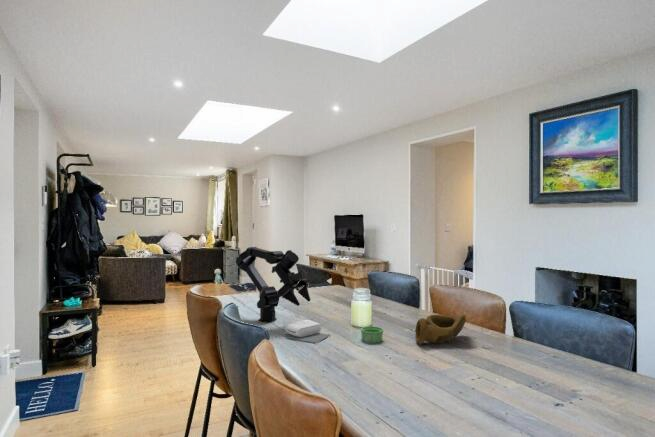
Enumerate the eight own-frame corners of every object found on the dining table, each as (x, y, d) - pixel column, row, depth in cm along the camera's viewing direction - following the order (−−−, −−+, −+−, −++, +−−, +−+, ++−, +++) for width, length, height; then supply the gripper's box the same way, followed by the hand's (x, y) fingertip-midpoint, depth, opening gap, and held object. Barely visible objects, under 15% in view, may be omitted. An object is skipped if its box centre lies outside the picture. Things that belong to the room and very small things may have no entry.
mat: (286, 338, 159) (286, 337, 159) (301, 331, 170) (301, 330, 170) (316, 343, 153) (316, 342, 153) (330, 335, 163) (330, 334, 163)
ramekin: (357, 341, 156) (357, 330, 156) (365, 335, 164) (365, 325, 164) (378, 344, 152) (378, 333, 152) (386, 338, 160) (386, 327, 160)
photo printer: (306, 328, 173) (282, 333, 165) (306, 318, 173) (282, 323, 165) (321, 333, 165) (297, 339, 157) (321, 323, 165) (297, 328, 157)
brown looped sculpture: (483, 330, 145) (424, 320, 146) (474, 359, 149) (416, 349, 150) (470, 304, 163) (417, 295, 163) (462, 331, 167) (410, 322, 167)
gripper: (284, 266, 169) (305, 296, 164) (307, 261, 185) (326, 288, 181) (268, 282, 173) (288, 311, 168) (292, 275, 189) (310, 302, 185)
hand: (304, 303), depth 176 cm, fingers open, 9 cm apart
